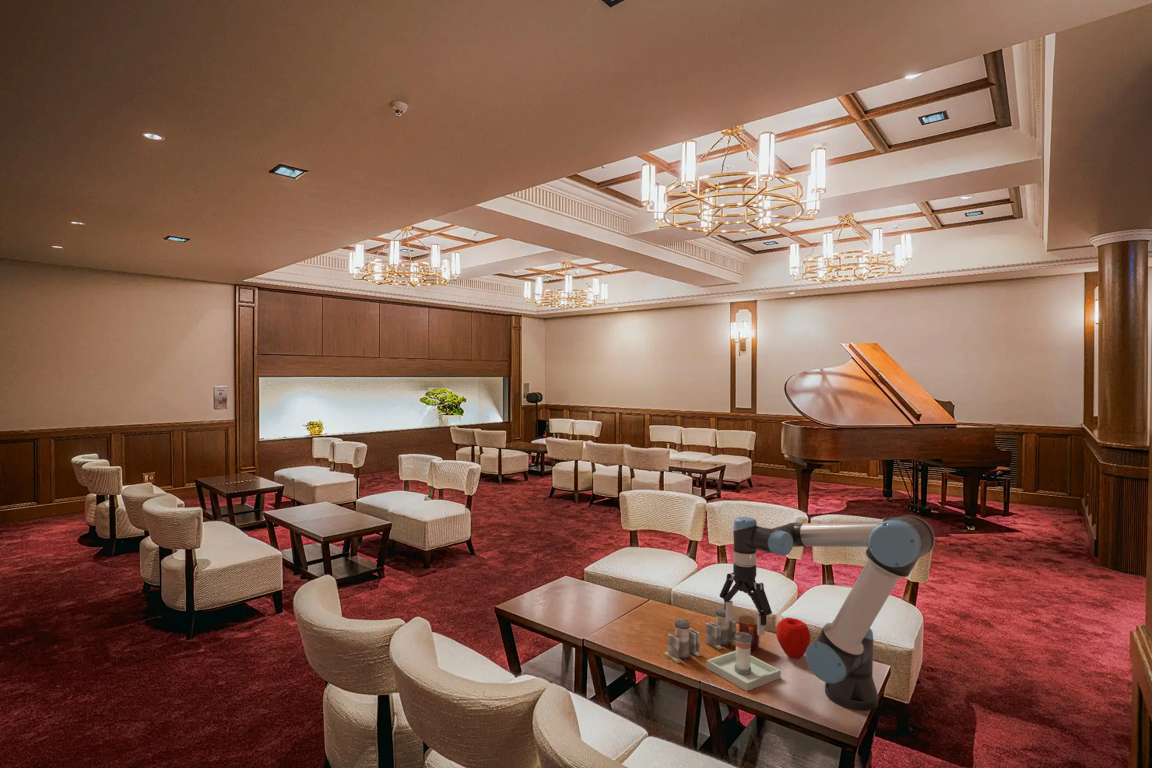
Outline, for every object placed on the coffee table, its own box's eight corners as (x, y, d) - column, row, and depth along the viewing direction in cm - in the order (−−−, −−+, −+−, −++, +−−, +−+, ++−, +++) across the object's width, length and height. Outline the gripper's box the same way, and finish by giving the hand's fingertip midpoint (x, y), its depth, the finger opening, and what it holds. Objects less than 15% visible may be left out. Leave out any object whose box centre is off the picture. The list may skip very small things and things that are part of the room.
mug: (735, 640, 216) (736, 613, 216) (759, 643, 214) (760, 616, 214) (738, 655, 204) (739, 626, 204) (763, 657, 202) (764, 629, 203)
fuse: (754, 672, 190) (755, 636, 190) (743, 676, 187) (744, 640, 187) (741, 665, 195) (742, 631, 195) (731, 669, 192) (731, 634, 192)
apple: (768, 650, 208) (769, 614, 208) (796, 647, 211) (797, 611, 211) (788, 665, 197) (789, 627, 197) (817, 662, 200) (818, 624, 200)
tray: (780, 678, 188) (780, 670, 188) (747, 691, 179) (747, 683, 179) (738, 656, 203) (739, 649, 203) (706, 668, 194) (706, 660, 194)
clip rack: (739, 642, 214) (740, 611, 214) (677, 663, 197) (677, 628, 197) (725, 635, 220) (726, 604, 220) (663, 655, 203) (664, 621, 203)
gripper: (783, 571, 183) (783, 637, 182) (724, 553, 204) (724, 613, 203) (768, 575, 179) (767, 643, 178) (709, 556, 200) (709, 617, 199)
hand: (744, 627), depth 191 cm, fingers open, 13 cm apart
